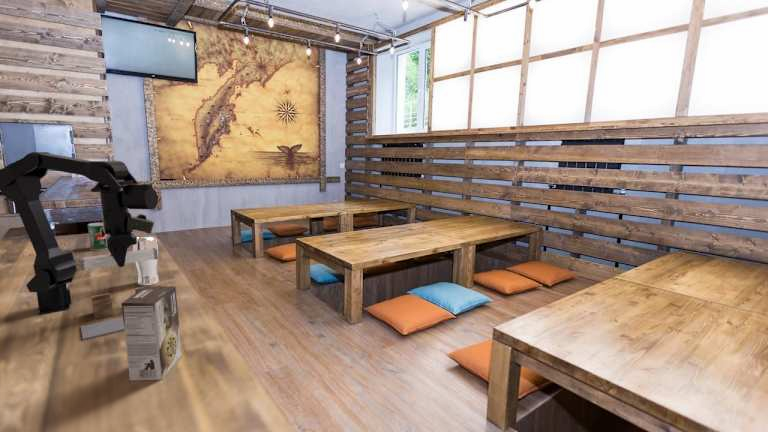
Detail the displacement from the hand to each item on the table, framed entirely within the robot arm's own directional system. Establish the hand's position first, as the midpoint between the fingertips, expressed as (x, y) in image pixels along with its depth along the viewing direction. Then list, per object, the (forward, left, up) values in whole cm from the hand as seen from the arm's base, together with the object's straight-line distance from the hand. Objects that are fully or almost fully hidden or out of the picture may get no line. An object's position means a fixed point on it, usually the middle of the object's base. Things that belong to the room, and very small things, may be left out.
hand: (120, 265), depth 104 cm
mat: (0, -10, -13) cm, 16 cm away
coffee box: (+1, -38, -13) cm, 40 cm away
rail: (0, 0, +1) cm, 1 cm away
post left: (-5, 0, -13) cm, 14 cm away
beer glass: (+9, +21, -13) cm, 26 cm away
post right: (+5, 0, -13) cm, 14 cm away
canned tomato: (+1, +84, -13) cm, 85 cm away
